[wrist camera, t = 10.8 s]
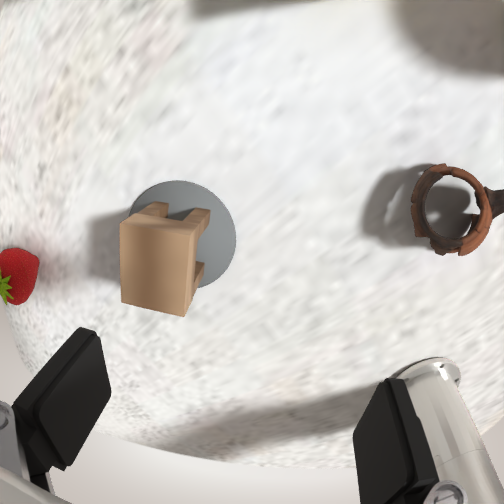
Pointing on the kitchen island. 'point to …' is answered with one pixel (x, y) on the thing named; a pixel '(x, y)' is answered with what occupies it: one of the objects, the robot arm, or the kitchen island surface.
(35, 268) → the strawberry
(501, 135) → the kitchen island surface
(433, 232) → the brown curved piece
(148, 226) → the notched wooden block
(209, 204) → the mat
